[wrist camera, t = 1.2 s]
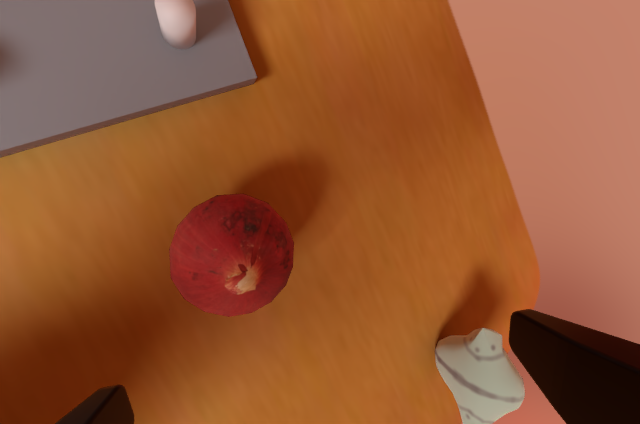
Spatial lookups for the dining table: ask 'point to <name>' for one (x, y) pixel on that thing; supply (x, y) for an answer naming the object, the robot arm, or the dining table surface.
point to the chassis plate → (110, 63)
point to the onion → (231, 255)
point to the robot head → (480, 375)
